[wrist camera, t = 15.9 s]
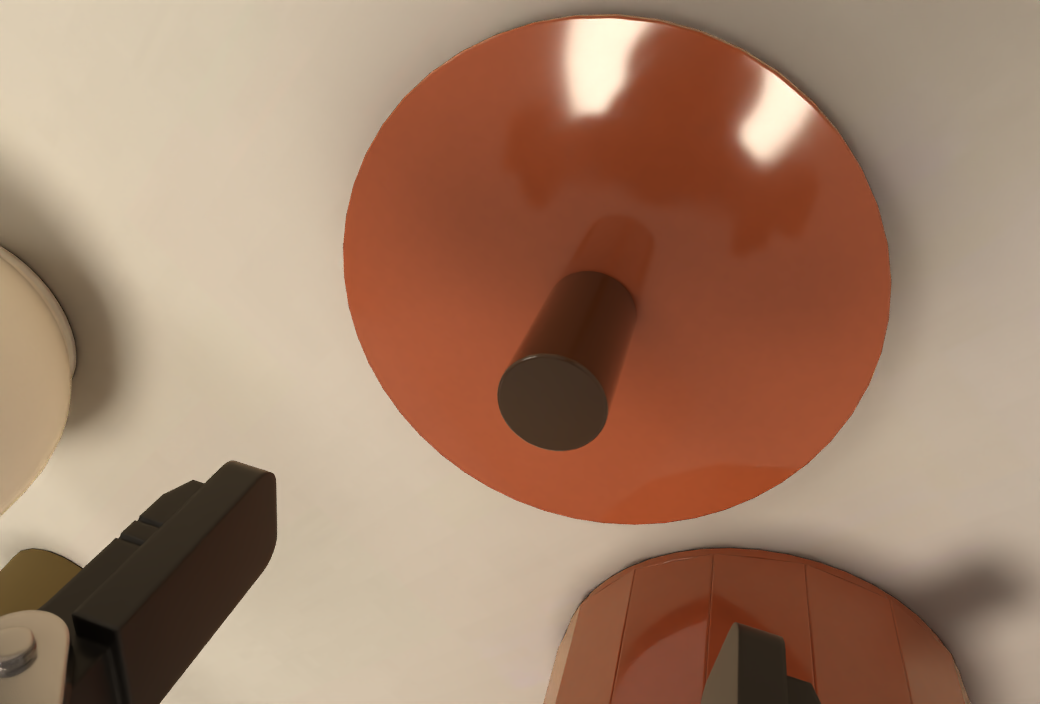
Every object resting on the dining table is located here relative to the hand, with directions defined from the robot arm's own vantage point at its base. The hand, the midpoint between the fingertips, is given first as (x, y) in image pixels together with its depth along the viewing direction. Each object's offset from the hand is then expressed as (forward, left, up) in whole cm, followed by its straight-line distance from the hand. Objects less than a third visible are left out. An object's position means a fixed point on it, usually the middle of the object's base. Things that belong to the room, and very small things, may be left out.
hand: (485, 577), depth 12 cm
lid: (0, 0, -11) cm, 11 cm away
